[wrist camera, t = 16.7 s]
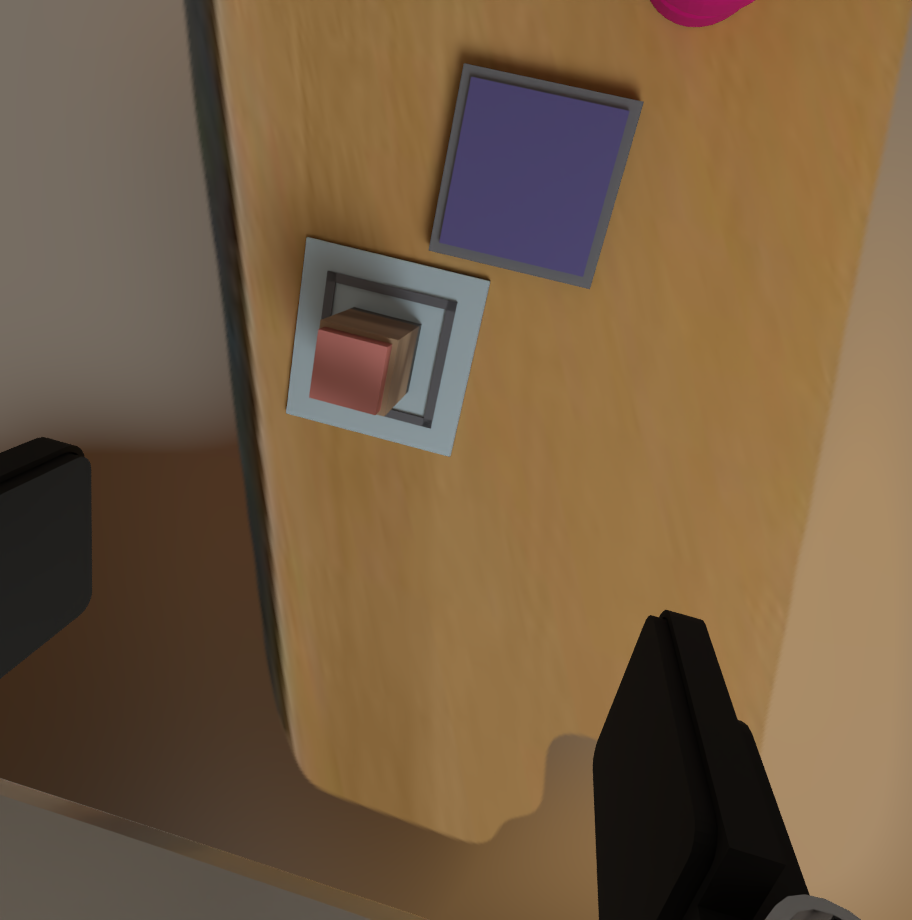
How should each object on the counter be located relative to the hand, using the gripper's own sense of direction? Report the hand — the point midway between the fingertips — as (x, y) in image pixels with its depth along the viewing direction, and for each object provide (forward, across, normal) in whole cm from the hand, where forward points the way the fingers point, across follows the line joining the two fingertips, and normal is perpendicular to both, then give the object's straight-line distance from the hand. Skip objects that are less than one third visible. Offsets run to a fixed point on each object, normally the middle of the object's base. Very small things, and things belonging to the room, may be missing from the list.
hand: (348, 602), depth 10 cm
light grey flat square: (+32, +8, +4) cm, 34 cm away
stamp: (+32, +8, +4) cm, 33 cm away
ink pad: (+32, +1, -8) cm, 33 cm away
